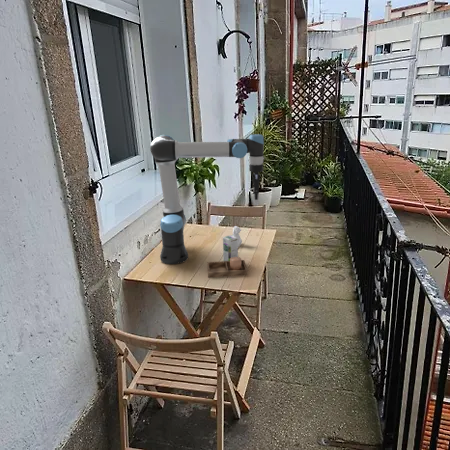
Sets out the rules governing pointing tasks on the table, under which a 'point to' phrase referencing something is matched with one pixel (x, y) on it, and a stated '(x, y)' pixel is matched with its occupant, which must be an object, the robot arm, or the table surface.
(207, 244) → the table surface
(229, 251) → the syrup box
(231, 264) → the tan rounded block
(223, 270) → the caddy
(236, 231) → the sitting furry creature
